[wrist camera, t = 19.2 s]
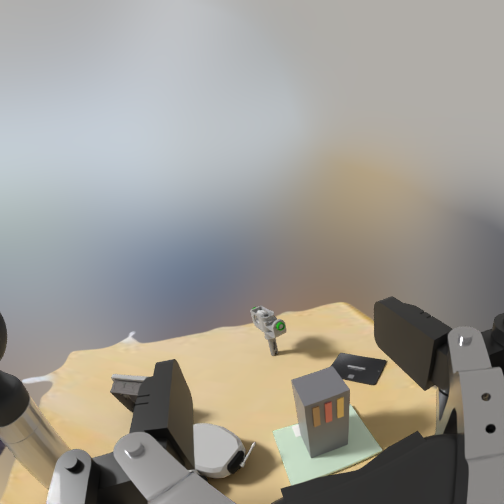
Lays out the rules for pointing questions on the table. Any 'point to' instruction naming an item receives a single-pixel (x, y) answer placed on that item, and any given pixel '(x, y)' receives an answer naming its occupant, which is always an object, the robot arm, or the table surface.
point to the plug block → (322, 410)
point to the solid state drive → (358, 368)
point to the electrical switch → (126, 389)
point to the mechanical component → (268, 326)
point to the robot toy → (217, 451)
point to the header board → (309, 468)
